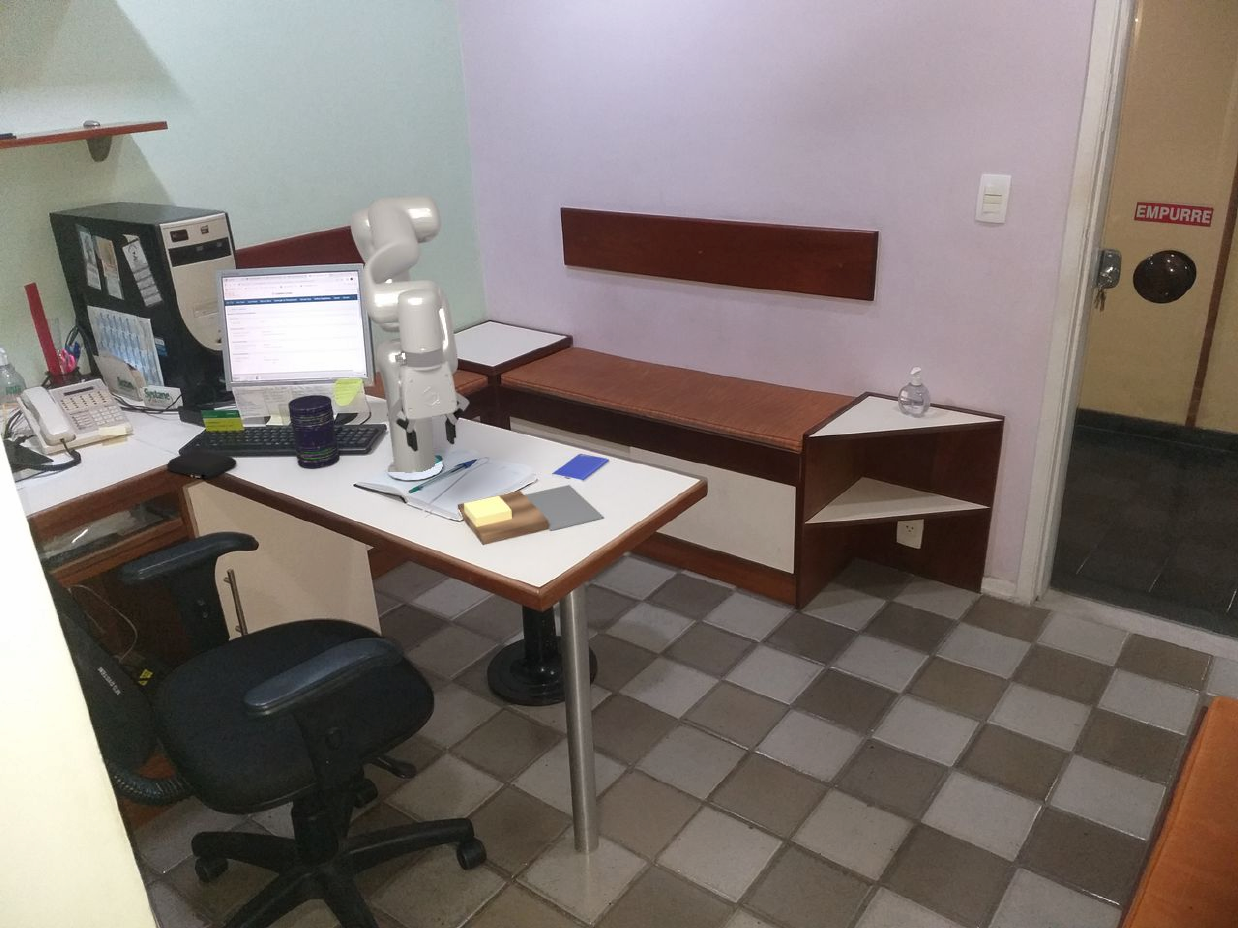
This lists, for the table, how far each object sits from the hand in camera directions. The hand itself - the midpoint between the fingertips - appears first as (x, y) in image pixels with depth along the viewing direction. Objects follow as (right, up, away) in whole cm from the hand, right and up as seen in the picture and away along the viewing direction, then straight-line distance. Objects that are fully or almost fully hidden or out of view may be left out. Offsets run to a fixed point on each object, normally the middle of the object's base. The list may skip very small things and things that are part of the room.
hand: (432, 444), depth 187 cm
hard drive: (+27, -6, +37) cm, 46 cm away
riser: (+12, -15, +13) cm, 24 cm away
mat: (+24, -13, +18) cm, 33 cm away
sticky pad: (+9, -14, +11) cm, 20 cm away
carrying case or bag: (-62, -6, +41) cm, 75 cm away
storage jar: (-36, -3, +44) cm, 57 cm away
